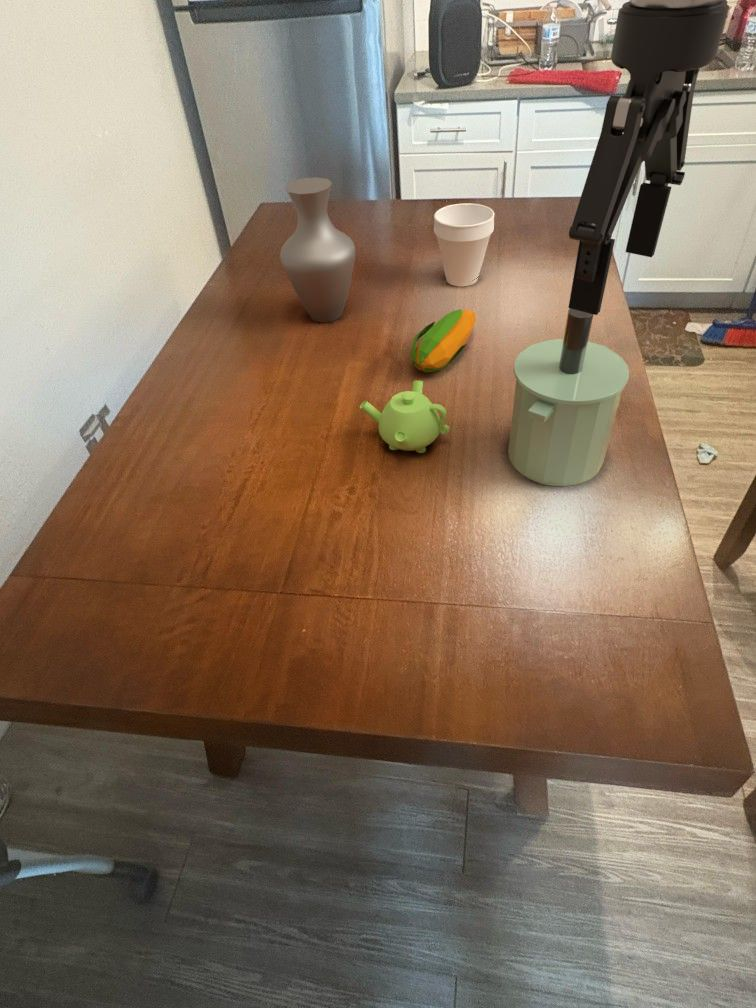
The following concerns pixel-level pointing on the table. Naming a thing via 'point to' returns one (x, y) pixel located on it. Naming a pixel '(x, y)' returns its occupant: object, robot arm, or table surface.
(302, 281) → the vase
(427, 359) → the corn
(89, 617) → the table surface
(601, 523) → the table surface
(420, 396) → the teapot
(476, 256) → the cup
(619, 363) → the lid
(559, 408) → the pot
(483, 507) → the table surface
